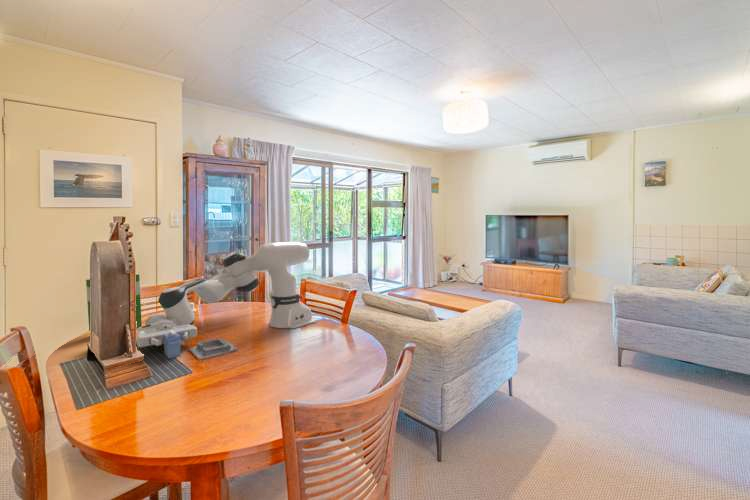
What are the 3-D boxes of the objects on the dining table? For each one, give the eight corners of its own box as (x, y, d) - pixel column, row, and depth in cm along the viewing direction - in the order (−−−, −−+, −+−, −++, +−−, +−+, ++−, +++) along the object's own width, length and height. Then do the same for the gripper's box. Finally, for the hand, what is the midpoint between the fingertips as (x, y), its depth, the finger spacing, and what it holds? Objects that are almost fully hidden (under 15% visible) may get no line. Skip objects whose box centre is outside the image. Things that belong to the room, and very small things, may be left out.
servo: (175, 350, 141) (174, 327, 141) (181, 356, 135) (180, 332, 134) (163, 352, 139) (162, 329, 138) (169, 359, 133) (168, 335, 132)
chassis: (226, 342, 151) (226, 336, 151) (237, 350, 142) (237, 344, 142) (189, 350, 142) (189, 343, 141) (198, 359, 133) (198, 353, 132)
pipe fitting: (188, 322, 177) (188, 305, 176) (177, 320, 179) (177, 304, 179) (199, 318, 183) (198, 302, 182) (188, 316, 185) (187, 301, 184)
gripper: (192, 333, 153) (202, 342, 143) (134, 344, 140) (141, 355, 130) (191, 318, 153) (202, 327, 142) (133, 328, 139) (140, 338, 129)
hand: (172, 340), depth 136 cm, fingers open, 7 cm apart
